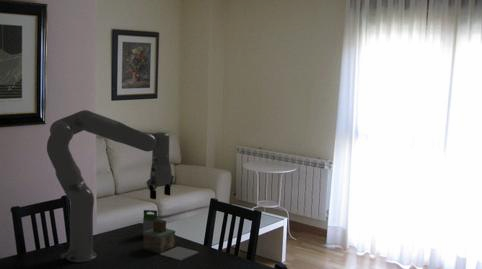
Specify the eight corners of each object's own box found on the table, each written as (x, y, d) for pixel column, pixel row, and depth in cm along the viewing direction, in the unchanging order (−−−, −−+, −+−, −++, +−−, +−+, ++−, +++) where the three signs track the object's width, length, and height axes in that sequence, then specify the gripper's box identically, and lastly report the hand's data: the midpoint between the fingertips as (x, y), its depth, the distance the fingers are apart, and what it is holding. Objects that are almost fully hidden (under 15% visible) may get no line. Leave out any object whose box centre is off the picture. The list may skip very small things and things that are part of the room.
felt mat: (180, 260, 240) (180, 259, 240) (159, 254, 246) (159, 253, 246) (198, 252, 251) (198, 251, 251) (178, 247, 257) (178, 246, 257)
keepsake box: (160, 253, 248) (160, 238, 247) (143, 249, 254) (143, 234, 253) (174, 247, 256) (174, 233, 256) (158, 243, 262) (158, 229, 261)
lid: (160, 240, 247) (160, 225, 246) (143, 236, 253) (143, 221, 252) (175, 235, 256) (175, 220, 255) (158, 231, 261) (158, 216, 260)
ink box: (158, 234, 275) (159, 208, 274) (156, 237, 271) (157, 210, 270) (145, 234, 276) (145, 207, 274) (142, 236, 272) (143, 209, 270)
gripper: (154, 163, 241) (153, 201, 243) (179, 158, 255) (178, 194, 257) (141, 161, 245) (141, 199, 247) (166, 156, 259) (166, 192, 261)
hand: (160, 196), depth 252 cm, fingers open, 9 cm apart
